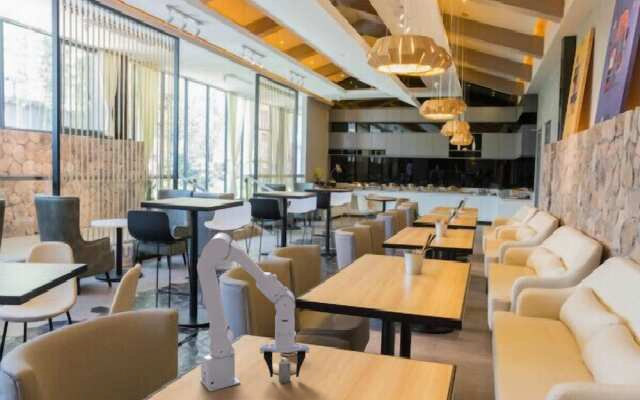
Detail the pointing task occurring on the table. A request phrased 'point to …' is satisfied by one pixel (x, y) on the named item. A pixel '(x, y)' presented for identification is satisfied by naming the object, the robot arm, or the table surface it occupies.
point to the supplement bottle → (290, 352)
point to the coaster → (292, 368)
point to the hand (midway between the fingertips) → (284, 375)
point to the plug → (284, 371)
